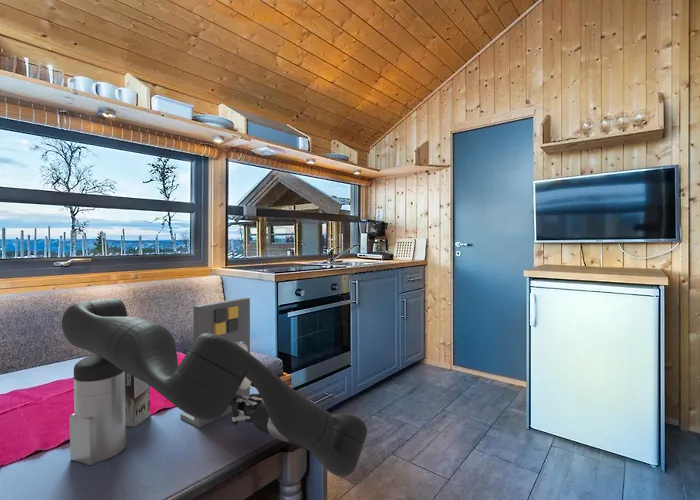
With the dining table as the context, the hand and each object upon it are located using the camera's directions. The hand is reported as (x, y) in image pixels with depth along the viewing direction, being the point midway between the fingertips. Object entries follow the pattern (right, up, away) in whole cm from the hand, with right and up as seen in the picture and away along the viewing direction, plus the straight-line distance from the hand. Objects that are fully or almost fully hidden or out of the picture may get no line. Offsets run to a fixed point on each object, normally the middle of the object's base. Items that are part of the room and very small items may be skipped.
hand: (230, 398), depth 90 cm
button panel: (-7, -7, +10) cm, 14 cm away
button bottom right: (-1, -2, +11) cm, 12 cm away
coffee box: (-28, -8, +5) cm, 30 cm away
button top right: (-2, +6, +12) cm, 14 cm away
